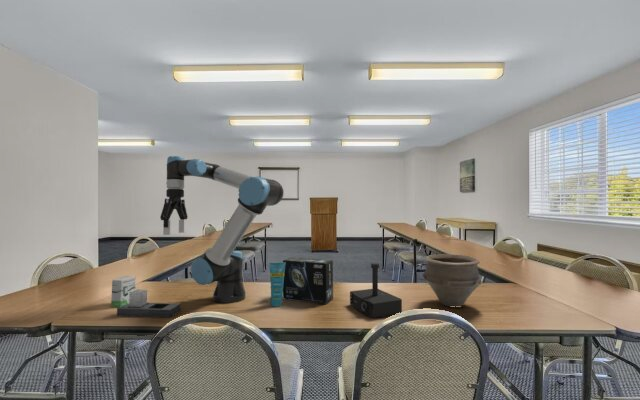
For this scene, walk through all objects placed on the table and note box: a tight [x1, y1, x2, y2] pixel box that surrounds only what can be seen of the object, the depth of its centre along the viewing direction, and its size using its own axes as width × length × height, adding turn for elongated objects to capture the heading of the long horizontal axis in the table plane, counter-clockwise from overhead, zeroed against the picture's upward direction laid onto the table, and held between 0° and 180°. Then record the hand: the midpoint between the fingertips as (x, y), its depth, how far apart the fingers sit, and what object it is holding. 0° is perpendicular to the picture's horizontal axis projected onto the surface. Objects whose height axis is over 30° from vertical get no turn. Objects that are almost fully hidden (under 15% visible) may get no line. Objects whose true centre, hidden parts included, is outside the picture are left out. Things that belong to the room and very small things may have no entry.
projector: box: [349, 262, 403, 319], centre depth 128 cm, size 19×17×20 cm
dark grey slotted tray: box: [116, 302, 182, 319], centre depth 121 cm, size 22×8×3 cm, turn 86°
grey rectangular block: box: [129, 288, 148, 308], centre depth 122 cm, size 4×4×9 cm
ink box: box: [110, 275, 137, 308], centre depth 133 cm, size 9×5×12 cm, turn 171°
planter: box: [422, 253, 483, 307], centre depth 135 cm, size 25×24×22 cm
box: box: [282, 257, 334, 305], centre depth 143 cm, size 23×10×19 cm, turn 67°
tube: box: [268, 261, 286, 307], centre depth 133 cm, size 7×5×19 cm, turn 103°
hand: (174, 233), depth 139 cm, fingers open, 13 cm apart
